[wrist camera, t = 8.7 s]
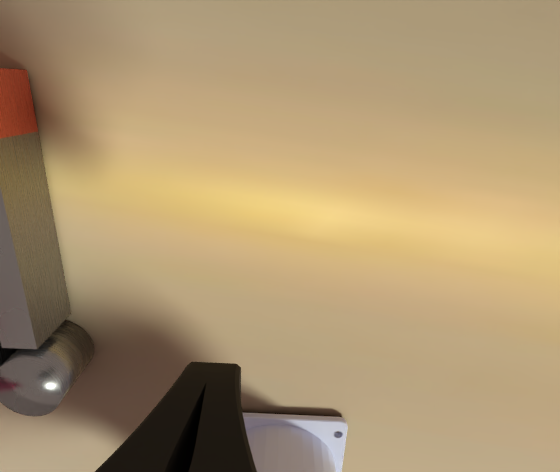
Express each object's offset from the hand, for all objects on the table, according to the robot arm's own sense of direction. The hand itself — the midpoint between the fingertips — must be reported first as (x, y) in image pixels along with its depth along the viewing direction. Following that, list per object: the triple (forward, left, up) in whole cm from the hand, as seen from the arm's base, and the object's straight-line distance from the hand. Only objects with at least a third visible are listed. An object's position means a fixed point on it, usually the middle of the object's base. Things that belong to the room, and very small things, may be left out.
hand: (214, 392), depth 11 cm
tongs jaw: (+2, +10, -9) cm, 14 cm away
